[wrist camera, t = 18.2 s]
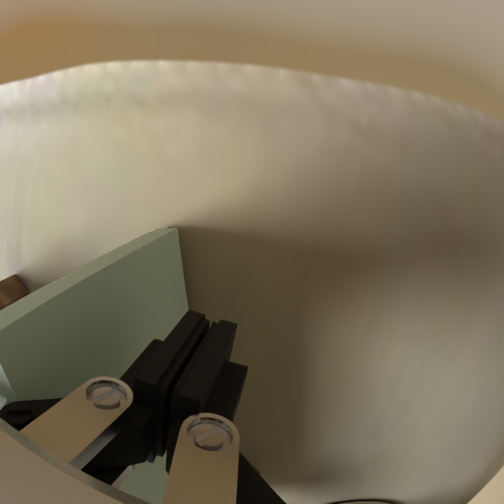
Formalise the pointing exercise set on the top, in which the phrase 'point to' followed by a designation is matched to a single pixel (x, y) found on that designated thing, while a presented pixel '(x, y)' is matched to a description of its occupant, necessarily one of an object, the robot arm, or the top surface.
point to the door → (96, 330)
